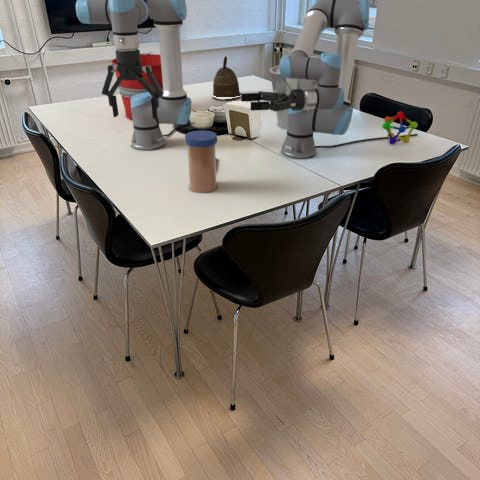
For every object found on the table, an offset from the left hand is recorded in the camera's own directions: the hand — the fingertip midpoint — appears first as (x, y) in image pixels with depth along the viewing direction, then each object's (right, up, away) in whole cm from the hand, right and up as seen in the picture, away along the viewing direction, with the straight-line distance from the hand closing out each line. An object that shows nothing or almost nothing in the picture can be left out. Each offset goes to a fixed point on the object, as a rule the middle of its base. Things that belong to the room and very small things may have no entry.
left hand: (135, 116), depth 150 cm
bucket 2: (+65, +19, +84) cm, 107 cm away
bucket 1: (-16, +29, +99) cm, 104 cm away
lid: (+22, -5, +8) cm, 23 cm away
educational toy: (+110, +4, +61) cm, 125 cm away
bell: (+27, +49, +132) cm, 143 cm away
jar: (+21, -22, +18) cm, 36 cm away
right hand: (+38, +8, +8) cm, 39 cm away
